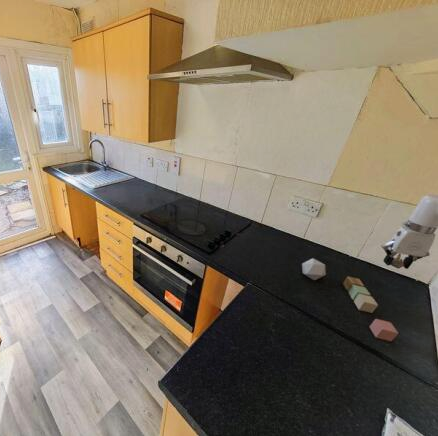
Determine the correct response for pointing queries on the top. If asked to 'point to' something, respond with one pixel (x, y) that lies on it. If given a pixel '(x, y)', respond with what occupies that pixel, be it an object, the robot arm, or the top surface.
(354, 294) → the block
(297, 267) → the top surface
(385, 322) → the block
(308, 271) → the die
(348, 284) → the block
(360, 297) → the block
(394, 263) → the figurine
